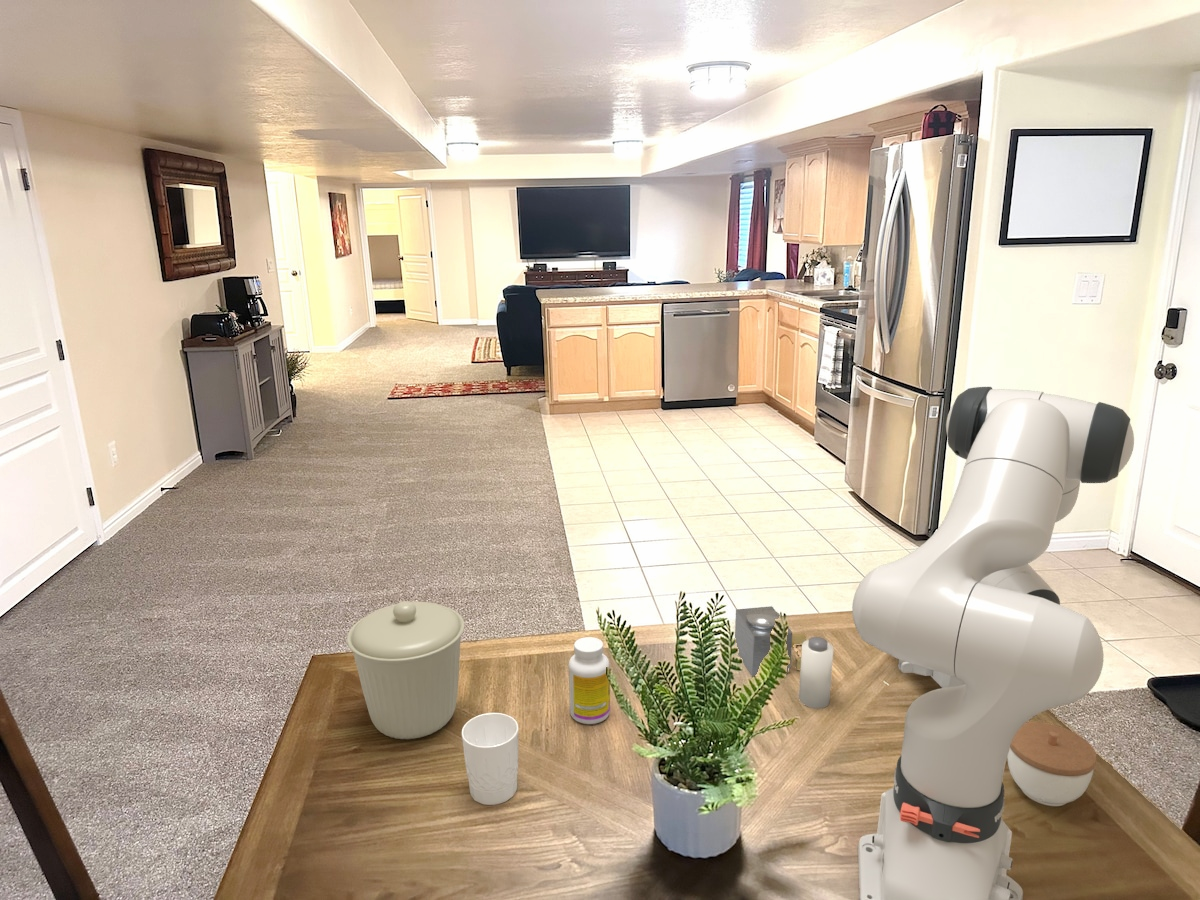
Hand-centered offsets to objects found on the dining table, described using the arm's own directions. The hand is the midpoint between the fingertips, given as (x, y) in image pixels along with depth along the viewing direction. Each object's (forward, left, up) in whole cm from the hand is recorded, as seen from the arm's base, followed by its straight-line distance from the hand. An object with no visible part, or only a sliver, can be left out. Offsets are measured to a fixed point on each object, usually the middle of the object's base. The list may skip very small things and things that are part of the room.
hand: (886, 651), depth 135 cm
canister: (-41, +67, -8) cm, 79 cm away
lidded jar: (-15, -24, -8) cm, 30 cm away
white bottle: (-7, +10, -8) cm, 15 cm away
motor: (+4, +20, -8) cm, 21 cm away
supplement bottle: (-27, +42, -8) cm, 51 cm away
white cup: (-49, +46, -8) cm, 68 cm away
